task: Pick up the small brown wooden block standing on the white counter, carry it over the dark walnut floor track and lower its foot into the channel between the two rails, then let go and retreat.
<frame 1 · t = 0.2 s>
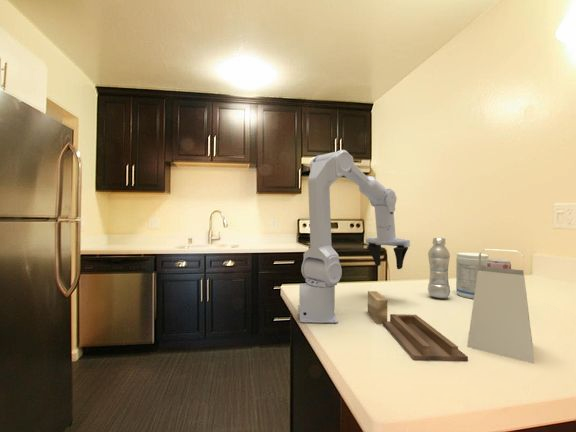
hand: (388, 267, 95), 11 cm above the countertop, tool pointing down, fingers open, 7 cm apart
supplement tub: (471, 296, 100), on the countertop
grater: (500, 346, 60), on the countertop
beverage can: (498, 312, 83), on the countertop
track: (419, 340, 63), on the countertop
brown wooden block: (376, 318, 77), on the countertop
plastic bottle: (438, 298, 97), on the countertop
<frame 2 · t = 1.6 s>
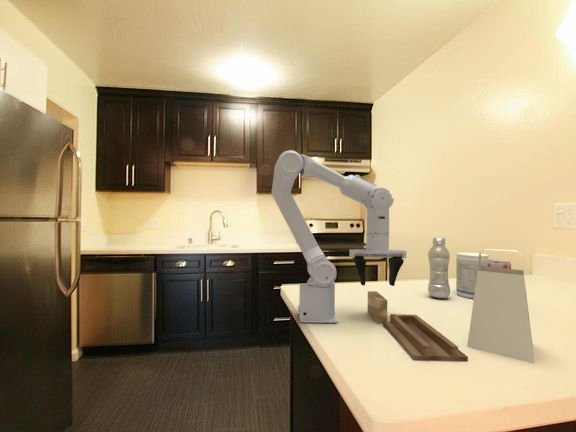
hand: (377, 284, 77), 9 cm above the countertop, tool pointing down, fingers open, 7 cm apart
nothing on the countertop moved.
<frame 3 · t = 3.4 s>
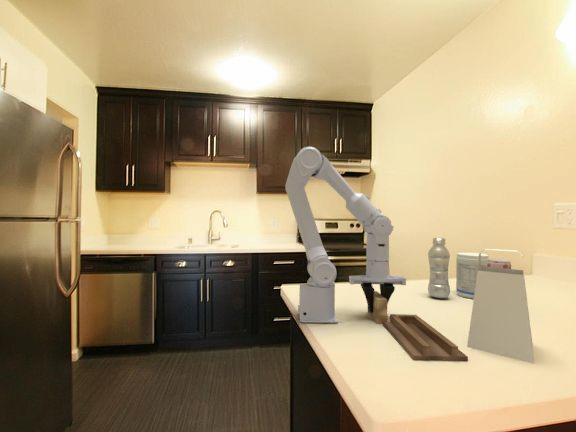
hand: (376, 311, 77), 2 cm above the countertop, tool pointing down, fingers closed on brown wooden block, 3 cm apart
brown wooden block: (376, 317, 77), on the countertop, touching gripper
everything else where it was.
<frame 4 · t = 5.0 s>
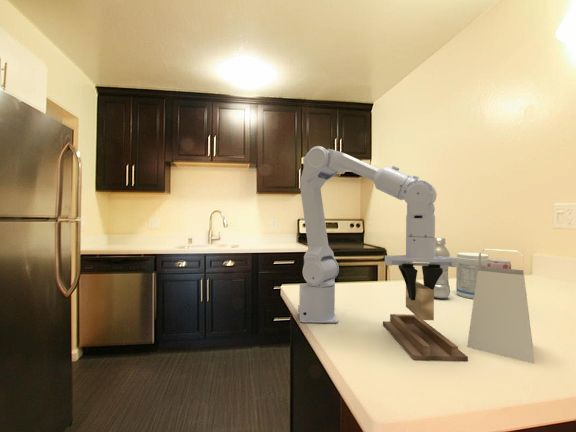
hand: (419, 299, 63), 9 cm above the countertop, tool pointing down, fingers closed on brown wooden block, 3 cm apart
brown wooden block: (418, 313, 63), point 6 cm above the countertop, touching gripper
everything else where it was.
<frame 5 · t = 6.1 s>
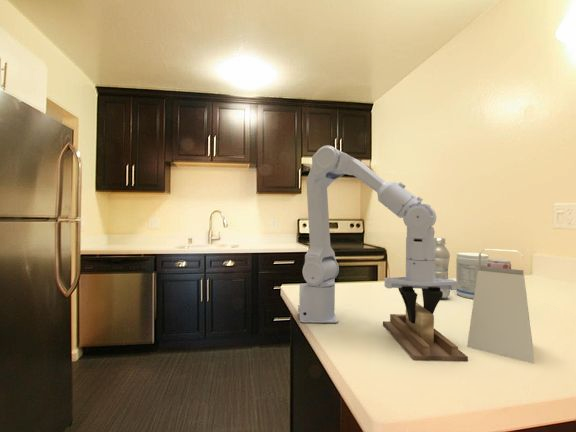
hand: (419, 322, 63), 4 cm above the countertop, tool pointing down, fingers closed on brown wooden block, 3 cm apart
brown wooden block: (418, 335, 63), point 1 cm above the countertop, touching gripper, track
everything else where it was.
when the fingers open (4 cm above the countertop, at t = 6.5 s): brown wooden block stays where it is, resting on track.
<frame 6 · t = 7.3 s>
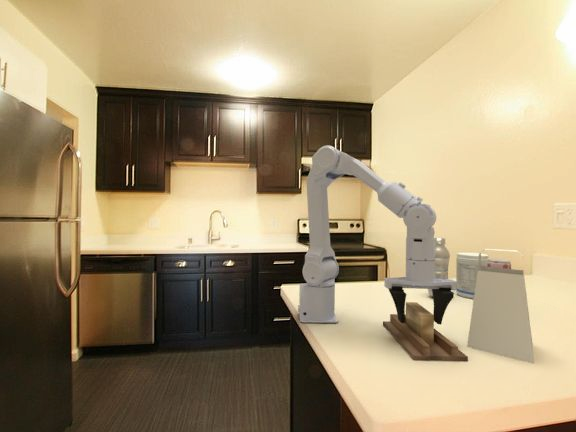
hand: (419, 322, 63), 4 cm above the countertop, tool pointing down, fingers open, 7 cm apart
brown wooden block: (418, 335, 63), point 1 cm above the countertop, touching track
everything else where it was.
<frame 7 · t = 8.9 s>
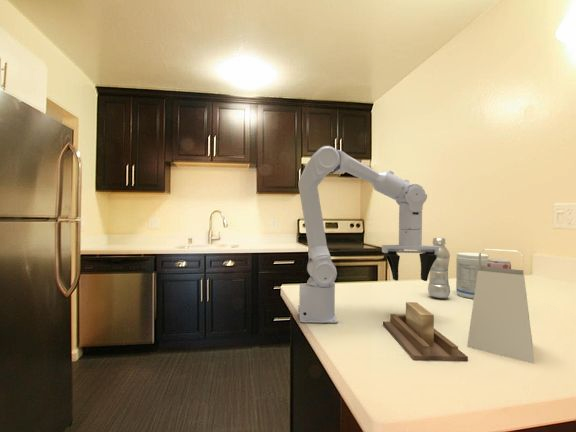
hand: (409, 280, 78), 10 cm above the countertop, tool pointing down, fingers open, 7 cm apart
nothing on the countertop moved.
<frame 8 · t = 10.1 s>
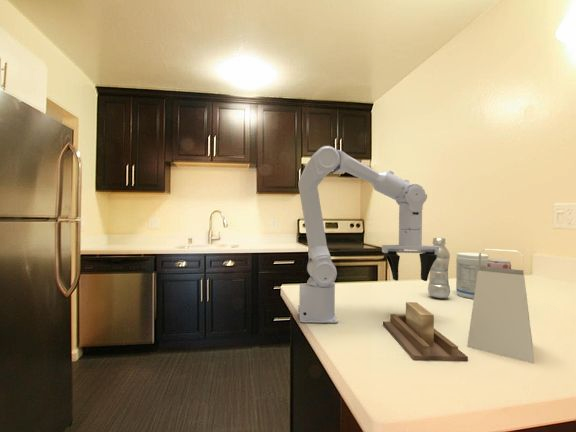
hand: (409, 280, 78), 10 cm above the countertop, tool pointing down, fingers open, 7 cm apart
nothing on the countertop moved.
at the end: brown wooden block inside the target area on the track (0.3 cm from its centre), point 0.8 cm above the track's base; brown wooden block tilted 0°; the gripper is holding nothing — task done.
